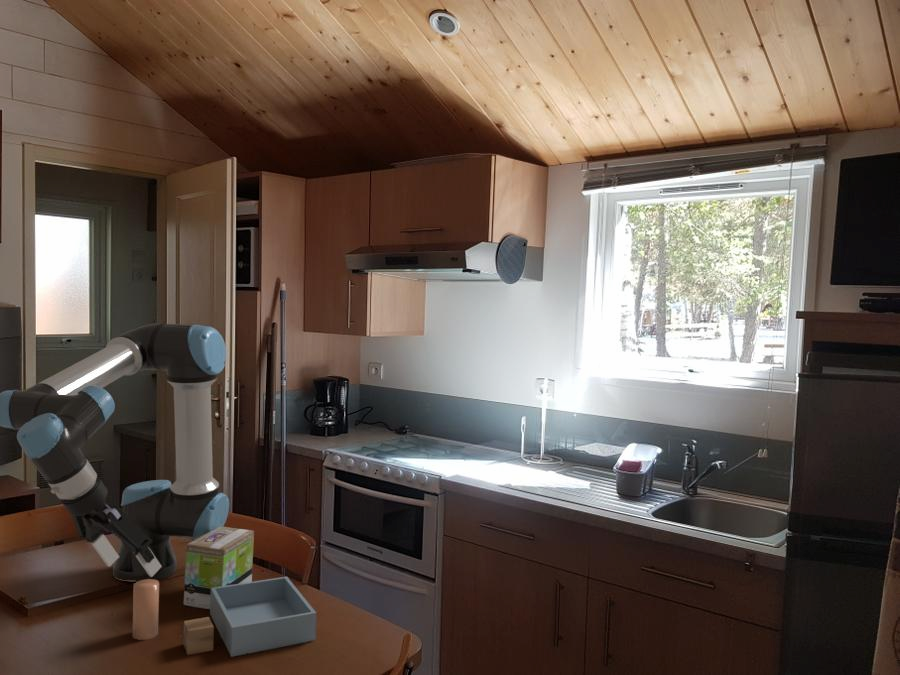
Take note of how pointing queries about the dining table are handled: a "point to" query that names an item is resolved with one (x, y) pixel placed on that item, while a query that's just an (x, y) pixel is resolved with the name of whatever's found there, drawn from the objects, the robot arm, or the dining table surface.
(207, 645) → the block
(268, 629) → the tote
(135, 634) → the peach orange cylinder
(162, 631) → the dining table surface
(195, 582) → the tea box
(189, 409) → the robot arm
